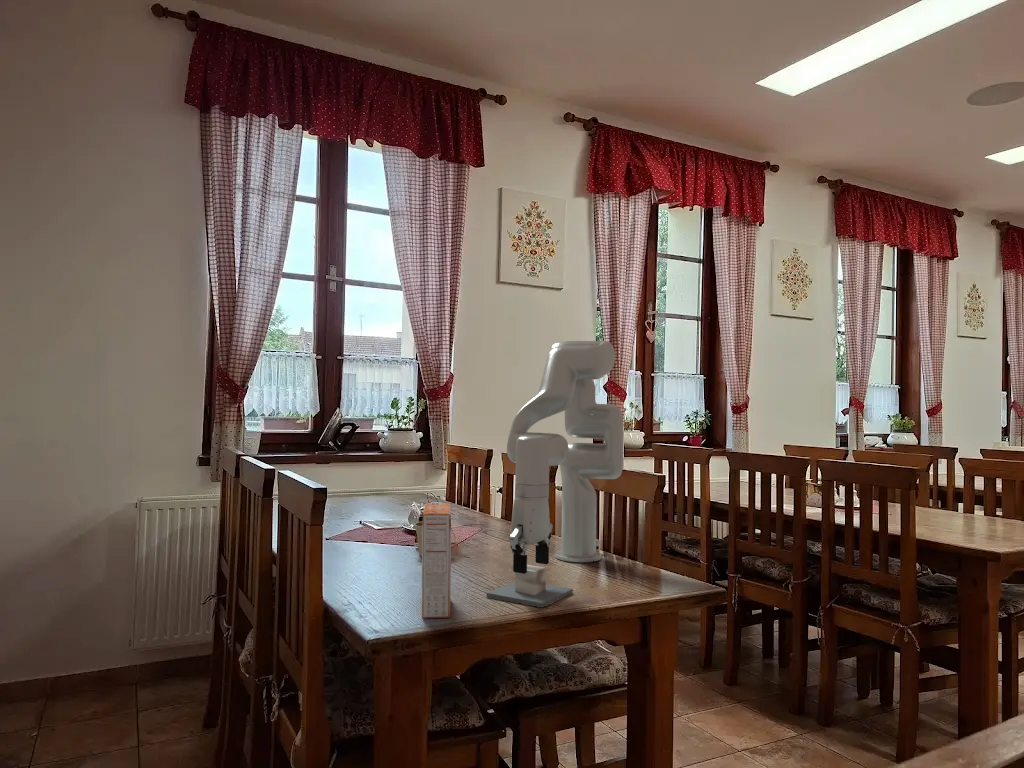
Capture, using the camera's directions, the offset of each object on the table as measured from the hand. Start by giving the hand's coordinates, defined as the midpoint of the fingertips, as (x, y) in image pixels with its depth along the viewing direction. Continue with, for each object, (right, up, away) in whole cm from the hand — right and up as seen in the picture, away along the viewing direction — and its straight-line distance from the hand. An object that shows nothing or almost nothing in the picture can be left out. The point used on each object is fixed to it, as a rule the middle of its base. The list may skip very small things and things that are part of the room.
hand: (531, 567), depth 161 cm
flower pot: (-27, -6, +38) cm, 47 cm away
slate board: (0, -6, 0) cm, 6 cm away
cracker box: (-20, -6, -12) cm, 24 cm away
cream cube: (0, -5, 0) cm, 5 cm away
